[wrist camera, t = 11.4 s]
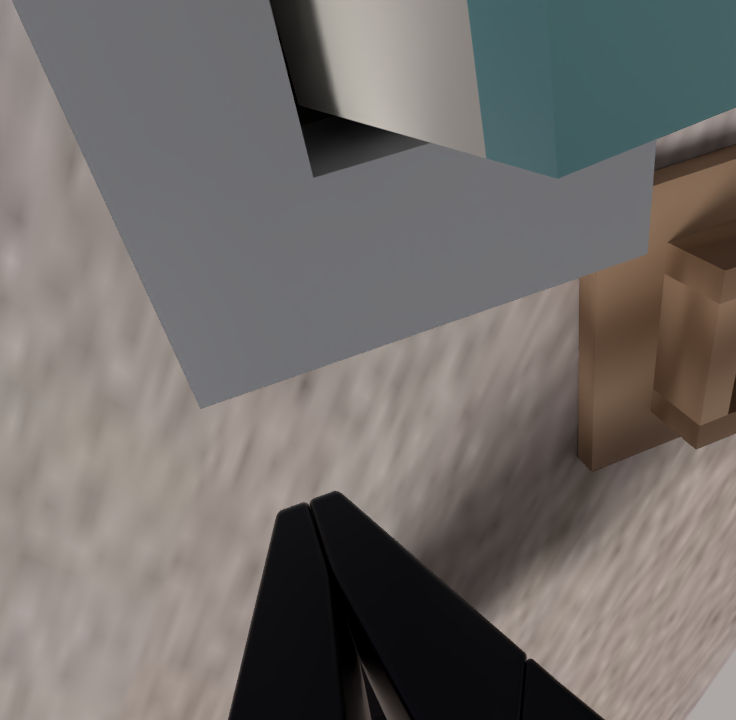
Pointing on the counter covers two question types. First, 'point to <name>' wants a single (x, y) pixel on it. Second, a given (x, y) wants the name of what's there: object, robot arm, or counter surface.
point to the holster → (664, 323)
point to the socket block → (301, 197)
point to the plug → (515, 71)
